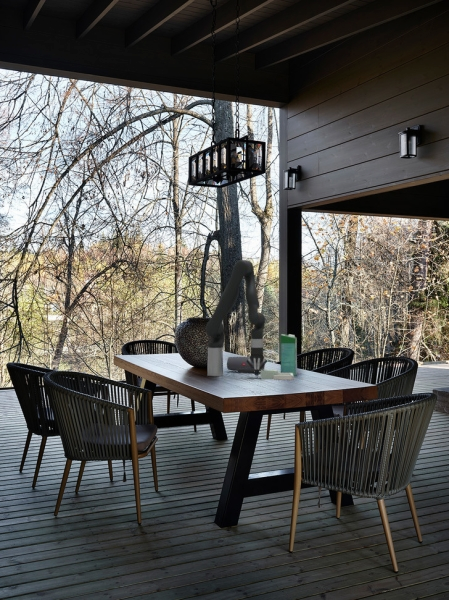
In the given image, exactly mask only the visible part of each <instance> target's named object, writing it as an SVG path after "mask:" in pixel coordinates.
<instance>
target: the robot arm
mask: <svg viewBox="0 0 449 600" xmlns="http://www.w3.org/2000/svg"><path fill="white" fill-rule="evenodd" d="M254 267H255V266H254V264H253V262H252V261H250V260H247V259H240V260H237V261H236V262H235V264H234V266H233V269H232V272H231V275H230V278H229V280H228V282H227V284H226V287H225V288H224V291H223V292H222V294H221V296H220V299H219V301H218V303H217V304H216V305H217V306H216V307H215V309H214V312H213V314H212V315H211V317H210V318H209V320H208V322H207V324H206V325H205V333H206V335H207V336H208V337H210V340H209V341H208V343H207V376H209V377H221V376H224V357H223V356H224V342H225V326H224V324H223V323H222V322H223V320H224V318H226V316H227V315H228V313H230V311H231V310H232V309H233V308H234V306H235V303H237V300H238V298H239V292H240V285H241V282H242V281H243V278H244V281H245V300H246V304H247V308H248V309H247V318H248V321H249V323H250V324H251V325H254V326H253V329H251V331H250V356H249V357H250V358H249V359H248V360H246V361H247V363H248V364H249V365H250V367H251V368H253V369H254V373H253V374H254V376H255V377H258V376H259V375H260V371H259V369H262V368H263V366H264V365H266V364H267V362H268V360H267V359H266V358H265V355H264V336H263V335H264V328H265V325H266V324H265V323H266V317H265V315H264V314H263V313H262V312H259V308H260V307H261V306H260V300H259V297H258V292H257V287H256V280H255V269H254ZM250 359H251V361H252V362H253V363H254V366H253V365H252V364H251V363H250V362H251V361H250ZM262 361H263V362H264V363H263V364H262V365H261V366H260V363H261V362H262ZM256 363H257V369H256ZM259 366H260V367H259Z"/></svg>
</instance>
